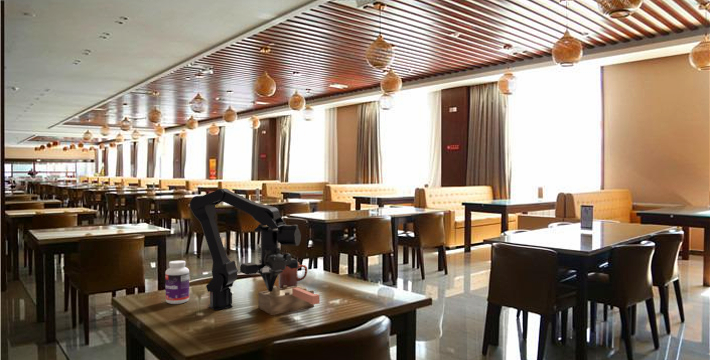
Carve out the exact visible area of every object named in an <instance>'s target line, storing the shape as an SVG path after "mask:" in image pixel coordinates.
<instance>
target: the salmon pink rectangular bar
mask: <svg viewBox="0 0 710 360" xmlns="http://www.w3.org/2000/svg"><path fill="white" fill-rule="evenodd" d="M292 295H293V296H295V297H298V298H300V299H302V300H304V301H307V302H309V303H310V304H312V305H314V306H315V305H318V304H320V302H321V301H320V294H318V293H314V294H313V293H310V292H308V291H305V290H303V289H300V288H298V287H296V288H292Z"/></svg>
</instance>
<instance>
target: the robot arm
mask: <svg viewBox="0 0 710 360" xmlns="http://www.w3.org/2000/svg"><path fill="white" fill-rule="evenodd" d="M221 203H226V204H227V205H229V206H231V207H234V208H236V209H237V210H240V211H242V212H244V213H247V214H248V215H250V216H251V217H252V219H253V220H255V221H256V222H258V223H259V224H258V225H257V226H256V228H255V229H254V232H260V247H258V251H260V259H259V263H258V264H257V263H254V262H251V261H250V262H244V263H241V264H240V267H239V270H240V271H239V270H238V268H237V265H236V262H235V260H232V261H230V259H229V258H228V256H227V253H226V251H225V250H226V249H225V247H224V244H223V240H222V237H221V233H220V231H219V228H218V225H217V222H216V219H215V218H216V211H217V210H216V206H217V205H219V204H221ZM189 208H190V210H191V212H192V214H193V217H195V218H196V219H197V220H198V221H199V223H200V225H201V228H202V232H203V234H204V238H205V241H206V244H207V247H208V251H209V253H210V257H211V261H212V268H211V275H212V279H211V280H209V282H208V283H207V284H206V286H205V287H206V290H207V293H208V292H209V304H208V307H209V308H211V309H212V310H213V311H218V310H219V311H220V310H224V309H229V308H232V307H233V292H232V290H231V288H232V287H233V285H234V283H235V281H236V280H237V278H238V272H240V273H242V274H244V275H246V276H247V275H253V274H257V273H258V274H259V275H260V276H261V278H262V279H263V282H264V284H265V286H266V290H268V291H269V292H272V289H273V286H275V283H276V281H277V278H278V277H279V274H280V273H281V272H283V270H285V268H286V266H288V267H289V268H290V269H292V268H298V262H299V261H298V260H297V259H296V258H292V255H291V253H284V254H281V248H280V247H279V244H280V245H281V246H293V247H294V246H296V247H297V246H299V245H300V243H301V238H302V233H301V231H300V229H299V225H298V224H292V225H290V224H287V223H286V222H285V221H284V219H283V217H282V216H281V213H280V210H279V209H278V208H277V207H275V206H272V205H267V204H261V203H257V202H255V201H253V200H251V199H249V198H246V197H244V196H242V195H240V194H237V193H236V192H233V191H231V190H229V189H228V188H218V189H216V190H214V191H212V192H209V193H206V194H202V195H195V196H193V197H192V198H191V199H190V202H189ZM298 269H299V268H298Z"/></svg>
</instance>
